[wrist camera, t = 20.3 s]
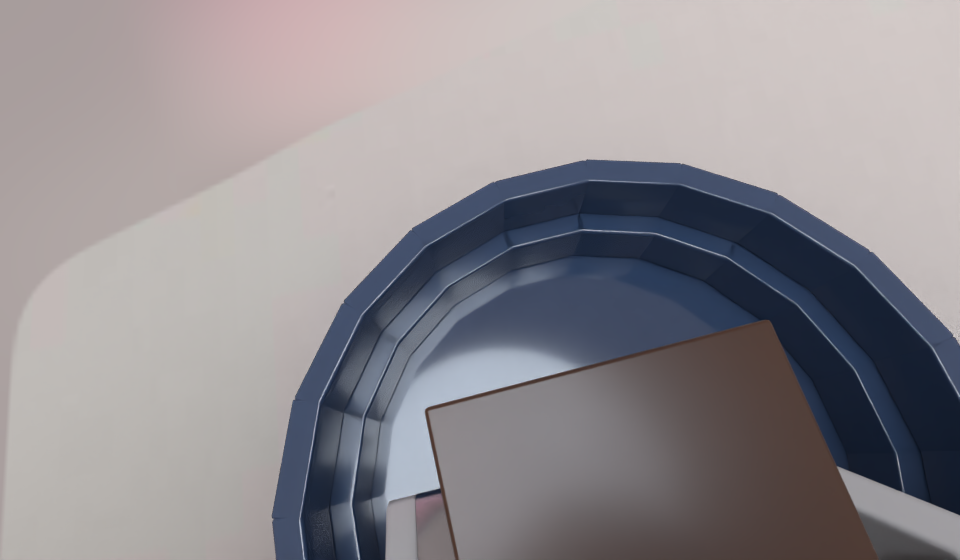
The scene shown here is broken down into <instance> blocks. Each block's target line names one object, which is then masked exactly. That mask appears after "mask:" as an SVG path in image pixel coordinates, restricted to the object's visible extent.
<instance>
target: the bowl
mask: <svg viewBox="0 0 960 560" xmlns="http://www.w3.org/2000/svg"><path fill="white" fill-rule="evenodd" d="M761 320H769V321H770V322H771V323H772V325H773V328H774V330H775V332H776V334H777V336H778V339H779V341H780V343H781V345H782V347H783V350H784V352H785V354H786V356H787V358H788V360H789V363H790V365H791V367H792V369H793V371H794V374H795V376H796V378H797V380H798V382H799V385H800V387H801V389H802V391H803V393H804V396H805V398H806V400H807V402H808V404H809V407H810V409H811V411H812V413H813V415H814V417H815V420H816V422H817V424H818V426H819V428H820V431H821V433H822V435H823V437H824V439H825V442H826V444H827V446H828V448H829V450H830V453H831V455H832V457H833V459H834V461H835V463H836V466H838V467H840V468H843V469H845V470H848V471H850V472H853V473H855V474H858V475H860V476H863V477H865V478H868V479H870V480H873V481H875V482H878V483H880V484H883V485H885V486H888V487H890V488H893V489H895V490H898V491H900V492H903V493H905V494H908V495H910V496H913V497H915V498H918V499H920V500H923V501H925V502H928V503H930V504H933V505H935V506H938V507H940V508H943V509H945V510H948V511H950V512H953V513H955V514H958V515H960V345H959V343H958V342H957V340H956V338H955V337H953V334H952V333H951V332H950V331H949V330H948V329H947V328H946V327H945V326H944V325H943V324H942V323H941V322H940V321H939V320H938V319H937V318H936V317H935V315H934V314H933V313H932V312H931V311H930V310H929V309H928V308H927V307H926V306H925V305H924V304H923V303H922V302H921V301H920V300H919V299H918V298H917V297H916V296H915V295H914V294H913V293H912V292H911V291H910V290H909V289H908V288H907V287H906V286H905V285H904V284H903V283H902V282H901V281H900V280H899V279H898V278H897V276H896V275H895V274H894V273H893V272H892V271H891V270H890V269H889V268H888V267H887V266H886V265H885V264H884V263H883V262H882V261H881V260H880V259H879V258H878V257H877V256H876V255H875V254H874V253H873V252H870V251H869V249H867V248H865V247H864V246H862V245H860V244H859V243H857V242H856V241H854V240H852V239H851V238H849V237H848V236H846V235H844V234H843V233H841V232H839V231H838V230H836V229H835V228H833V227H831V226H830V225H828V224H826V223H825V222H823V221H822V220H820V219H818V218H817V217H815V216H813V215H812V214H810V213H809V212H807V211H805V210H804V209H802V208H801V207H799V206H797V205H796V204H794V203H792V202H791V201H789V200H788V199H786V198H784V197H783V196H781V195H778V194H777V193H775V192H772V191H769V190H766V189H762V188H759V187H756V186H753V185H750V184H746V183H743V182H740V181H737V180H734V179H730V178H727V177H724V176H721V175H717V174H714V173H711V172H708V171H705V170H701V169H698V168H695V167H692V166H689V165H685V164H680V163H660V162H635V161H610V160H586V161H579V162H574V163H570V164H566V165H562V166H558V167H553V168H549V169H545V170H541V171H537V172H533V173H528V174H524V175H520V176H516V177H512V178H508V179H503V180H499V181H496V182H495V183H494V182H492V183H490V184H489V185H487V186H485V187H483V188H482V189H480V190H478V191H476V192H475V193H473V194H471V195H469V196H468V197H466V198H464V199H462V200H461V201H459V202H457V203H455V204H454V205H452V206H450V207H448V208H447V209H445V210H443V211H441V212H440V213H438V214H436V215H434V216H433V217H431V218H429V219H428V220H426V221H424V222H422V223H421V224H419V225H417V226H415V227H414V228H412V230H411V231H409V232H408V233H407V234H406V235H405V237H404V238H403V239H402V240H401V241H400V242H399V243H398V244H397V245H396V246H395V247H394V248H393V249H392V250H391V251H390V252H389V253H388V254H387V256H386V257H385V258H384V259H383V260H382V261H381V262H380V263H379V264H378V265H377V266H376V267H375V268H374V269H373V270H372V271H371V272H370V273H369V275H368V276H367V277H366V278H365V279H364V280H363V281H362V282H361V283H360V284H359V285H358V286H357V287H356V288H355V289H354V290H353V291H352V293H351V294H350V295H349V296H348V297H347V298H346V299H345V300H344V303H343V304H342V305H341V306H340V308H339V310H338V312H337V314H336V316H335V318H334V320H333V322H332V324H331V326H330V328H329V330H328V332H327V334H326V336H325V338H324V340H323V342H322V344H321V346H320V348H319V350H318V352H317V354H316V356H315V358H314V360H313V362H312V364H311V366H310V368H309V370H308V372H307V374H306V376H305V378H304V380H303V382H302V384H301V386H300V388H299V390H298V392H297V394H296V396H295V400H293V403H292V408H291V414H290V419H289V425H288V430H287V435H286V441H285V446H284V452H283V457H282V463H281V468H280V474H279V479H278V485H277V490H276V496H275V501H274V507H273V512H272V518H273V522H272V524H273V534H274V543H275V553H276V560H385V555H386V511H387V506H388V503H389V501H392V500H396V499H400V498H404V497H408V496H412V495H416V494H418V493H423V492H427V491H431V490H435V489H439V488H440V485H439V480H438V475H437V470H436V465H435V461H434V456H433V451H432V446H431V441H430V437H429V432H428V427H427V422H426V417H425V409H426V408H427V407H430V406H434V405H438V404H441V403H445V402H449V401H453V400H457V399H461V398H465V397H468V396H472V395H476V394H480V393H484V392H488V391H492V390H495V389H499V388H503V387H507V386H511V385H515V384H519V383H522V382H526V381H530V380H534V379H538V378H542V377H545V376H549V375H553V374H557V373H561V372H565V371H569V370H572V369H576V368H580V367H584V366H588V365H592V364H596V363H599V362H603V361H607V360H611V359H615V358H619V357H623V356H626V355H630V354H634V353H638V352H642V351H646V350H650V349H653V348H657V347H661V346H665V345H669V344H673V343H676V342H680V341H684V340H688V339H692V338H696V337H700V336H703V335H707V334H711V333H715V332H719V331H723V330H727V329H730V328H734V327H738V326H742V325H746V324H750V323H754V322H757V321H761Z"/></svg>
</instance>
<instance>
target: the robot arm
mask: <svg viewBox="0 0 960 560" xmlns="http://www.w3.org/2000/svg"><path fill="white" fill-rule="evenodd" d="M837 468H838V470H839V472H840V474H841V477H842V479H843V481H844V483H845V485H846V488H847V490H848V492H849V494H850V496H851V499H852V501H853V503H854V505H855V507H856V509H857V512H858V514H859V516H860V518H861V520H862V523H863V525H864V527H865V529H866V531H867V534H868V536H869V538H870V540H871V542H872V545H873V547H874V549H875V551H876V553H877V556H878V558H879V560H960V515H958V514H955V513H953V512H950V511H948V510H945V509H943V508H940V507H938V506H935V505H933V504H930V503H928V502H925V501H923V500H920V499H918V498H915V497H913V496H910V495H908V494H905V493H903V492H900V491H898V490H895V489H893V488H890V487H888V486H885V485H883V484H880V483H878V482H875V481H873V480H870V479H868V478H865V477H863V476H860V475H858V474H855V473H853V472H850V471H848V470H845V469H843V468H840V467H838V466H837ZM385 560H455V557H454V552H453V547H452V542H451V538H450V533H449V528H448V523H447V518H446V513H445V509H444V504H443V499H442V494H441V489H440V488H439V489H435V490H431V491H427V492H423V493H418V494H416V495H412V496H408V497H404V498H400V499H396V500H392V501H389V503H388V506H387V511H386V555H385Z"/></svg>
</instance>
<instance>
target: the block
mask: <svg viewBox="0 0 960 560" xmlns="http://www.w3.org/2000/svg"><path fill="white" fill-rule="evenodd" d="M425 417H426V422H427V427H428V432H429V437H430V441H431V446H432V451H433V456H434V461H435V465H436V470H437V475H438V480H439V485H440V489H441V494H442V499H443V504H444V509H445V513H446V518H447V523H448V528H449V533H450V538H451V542H452V547H453V552H454V557H455V560H879V558H878V556H877V553H876V551H875V549H874V547H873V545H872V542H871V540H870V538H869V536H868V534H867V531H866V529H865V527H864V525H863V523H862V520H861V518H860V516H859V514H858V512H857V509H856V507H855V505H854V503H853V501H852V499H851V496H850V494H849V492H848V490H847V488H846V485H845V483H844V481H843V479H842V477H841V474H840V472H839V470H838V468H837V466H836V463H835V461H834V459H833V457H832V455H831V453H830V450H829V448H828V446H827V444H826V442H825V439H824V437H823V435H822V433H821V431H820V428H819V426H818V424H817V422H816V420H815V417H814V415H813V413H812V411H811V409H810V407H809V404H808V402H807V400H806V398H805V396H804V393H803V391H802V389H801V387H800V385H799V382H798V380H797V378H796V376H795V374H794V371H793V369H792V367H791V365H790V363H789V360H788V358H787V356H786V354H785V352H784V350H783V347H782V345H781V343H780V341H779V339H778V336H777V334H776V332H775V330H774V328H773V325H772V323H771V322H770V321H769V320H761V321H757V322H754V323H750V324H746V325H742V326H738V327H734V328H730V329H727V330H723V331H719V332H715V333H711V334H707V335H703V336H700V337H696V338H692V339H688V340H684V341H680V342H676V343H673V344H669V345H665V346H661V347H657V348H653V349H650V350H646V351H642V352H638V353H634V354H630V355H626V356H623V357H619V358H615V359H611V360H607V361H603V362H599V363H596V364H592V365H588V366H584V367H580V368H576V369H572V370H569V371H565V372H561V373H557V374H553V375H549V376H545V377H542V378H538V379H534V380H530V381H526V382H522V383H519V384H515V385H511V386H507V387H503V388H499V389H495V390H492V391H488V392H484V393H480V394H476V395H472V396H468V397H465V398H461V399H457V400H453V401H449V402H445V403H441V404H438V405H434V406H430V407H427V408H426V409H425Z"/></svg>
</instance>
